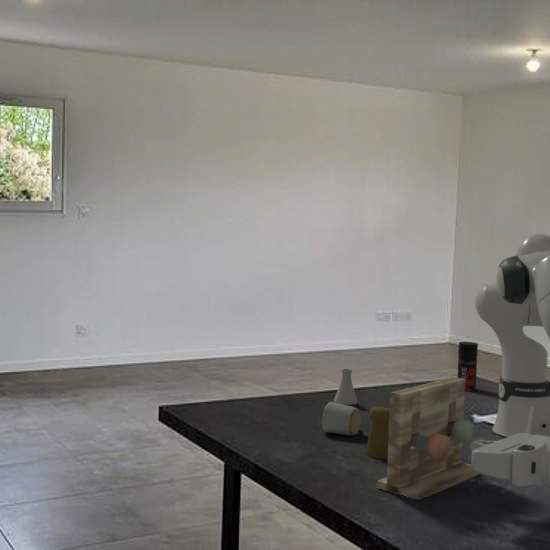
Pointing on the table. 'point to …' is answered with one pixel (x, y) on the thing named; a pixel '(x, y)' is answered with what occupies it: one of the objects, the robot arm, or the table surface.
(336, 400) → the flask
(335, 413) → the ceramic mug
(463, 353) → the deodorant
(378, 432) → the cork
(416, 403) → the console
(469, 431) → the button sage
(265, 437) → the table surface
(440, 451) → the button terracotta
